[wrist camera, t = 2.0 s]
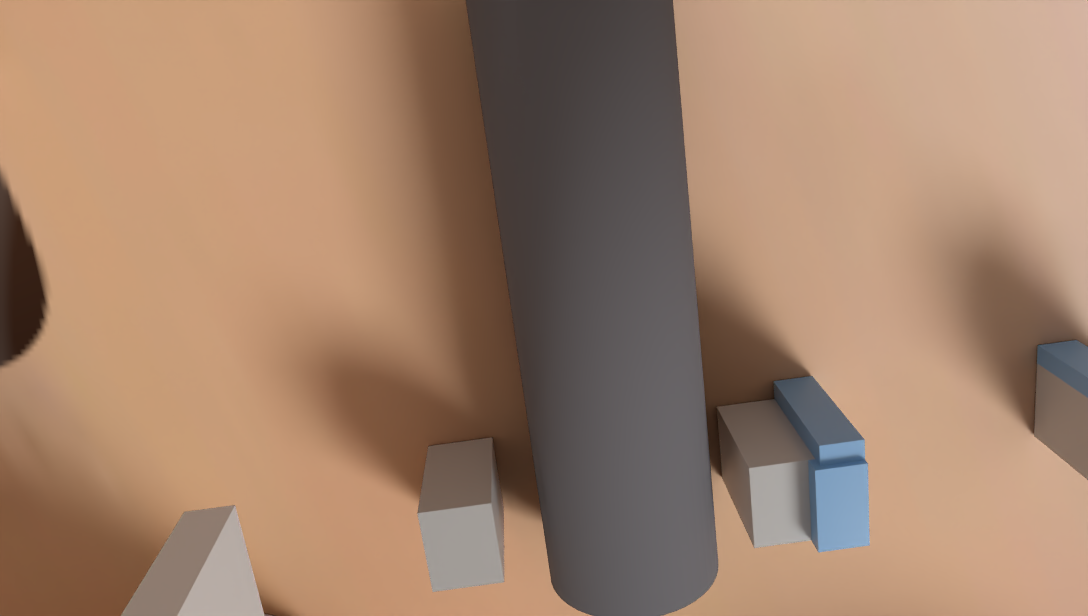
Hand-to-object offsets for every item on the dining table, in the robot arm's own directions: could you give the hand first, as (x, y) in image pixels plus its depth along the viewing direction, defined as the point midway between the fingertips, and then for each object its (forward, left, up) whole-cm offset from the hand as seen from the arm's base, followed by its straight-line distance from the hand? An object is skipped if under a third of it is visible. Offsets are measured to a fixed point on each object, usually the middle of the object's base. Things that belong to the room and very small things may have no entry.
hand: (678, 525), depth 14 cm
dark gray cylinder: (0, 0, -14) cm, 14 cm away
